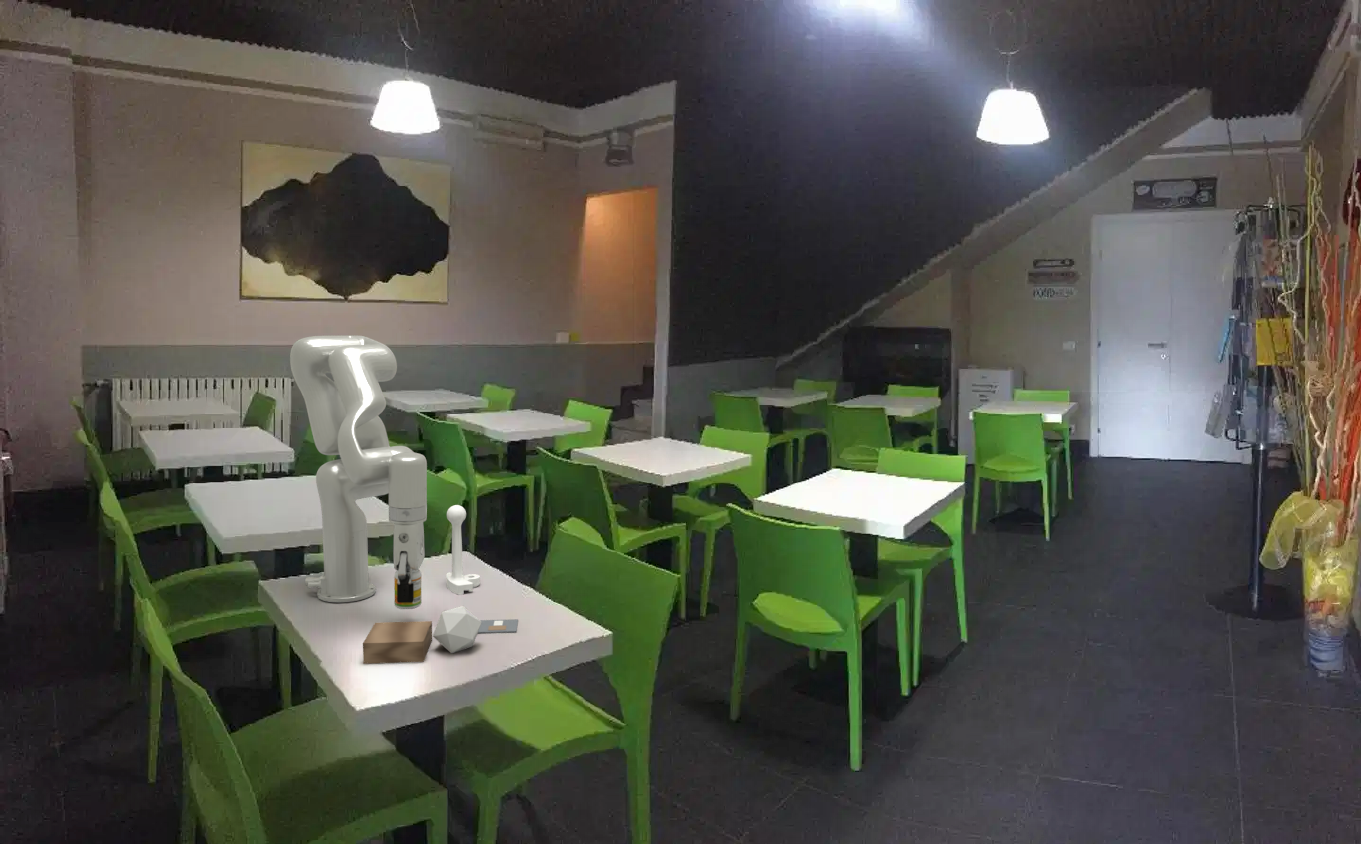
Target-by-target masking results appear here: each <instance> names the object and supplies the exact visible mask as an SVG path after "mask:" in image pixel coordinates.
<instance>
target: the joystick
mask: <svg viewBox="0 0 1361 844" xmlns="http://www.w3.org/2000/svg"><path fill="white" fill-rule="evenodd" d="M466 517H467V512H466V509H465V508H464V507H463V506H461V505H459V504H455V505H452V506H450V507H449V508H448V509H447V511H446V519H447V520H448V521H449V522H450V523H451V572H447V573H446V576H445V577H446V587H447V589H448V590H449V591H450V592H451V593H454V594H455V595H459V596H462V595H464V594H465V593H464V591H466V592H473V591H474V589H473V588H477V587H479V585H480V584H481V576H480V574H475V573H474V574H473V573H469V574H464V567H463V563H464V562H463V545H462V544H463V543H462V542H463V541H462V524H463V522H464V521H465V520H466Z"/></svg>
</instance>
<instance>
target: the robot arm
mask: <svg viewBox="0 0 1361 844" xmlns="http://www.w3.org/2000/svg"><path fill="white" fill-rule="evenodd" d="M289 355H290V357H289V362H290V363H289V364H290V369H291V374H292V376H293V378H294V381H295V384H296V385H297V388H298V389H299V391H300V393H301V395H302V397H303V399H304V403H305V407H306V412H307V415H308V417H307V418H308V420H309V421H308V422H309V425H310V430H311V434H312V436H313V437H312V438H313V441H314V445H315V448H316V449H317V451H318V452H319V453H320V454H322V455H323V456H324V455H325V456H338V455H339V459H333V460H330V461H327V462H325V463H324V464H322V465H321V466H319V468H318V470H317V472H316V474H315V475H316V476H315V483H316V488H317V493H318V497H319V502H320V508H321V509H320V510H321V520H322V521H321V523H322V545H323V546H322V547H323V548H322V551H323V573H324V574H323V575H320V576H319V577H315V576H310V577H309V576H307V577H306V578H305V579H304V580H305V582H304V583H305V586H308V587H307V588H309V589H311V588H318V589H319V590H318V591H317V598H318V599H319V600H320V601H324V602H329V603H351V602H357V601H362V600H365V599H368V598H370V597H372V596H373V595H375V594H376V591H377V589H376V588H377V587H376V585H375V584H373V583H371V582H369V557H368V556H369V553H368V551H369V550H368V549H369V548H368V547H369V545H368V522H367V516H366V514H365V512H364V511H363V510H362V509H361V507H359V505H358V504H357V503H356V501H358V500H362V499H368V498H374V497H378V496H379V497H380V496H385V495H388V521H389V523H392V524H393V569H394V570H395V571H398V582H397V602H398V603H412V602H413V601H414V583H412V574H413V569H415V571H417V570H418V569H419V570H420V568H421V567H422V564H423V562H424V560H425V555H426V553H425V533H424V532H425V531H424V529H425V528H424V522H426V521H427V520H428V519H427V517H428V516H427V515H428V514H427V513H428V512H427V511H428V510H427V509H428V504H427V503H428V502H427V501H428V499H427V497H428V495H427V493H428V492H427V491H428V489H427V487H428V486H427V485H428V481H427V480H428V476H427V475H428V463H427V462H428V461H427V459H426V457H425V455H424V454H421V453H417V452H414V451H413V450H412V449H411V448H409V447H408V446H405V445H395V446H394V445H393V446H390V441H389V438H388V433H387V429H386V426H385V424H384V422H383V420H382V418H381V417H380V414H382V413H383V411H384V410H385V409H386V406H387V400H386V397H385V395H384V393H383V391H382V387H381V386H380V383H379V382H381V383H382V382H388V381H391V380H393V379H394V377H395V376H396V373H397V370H398V362H397V357H396V356H395V354H394V353H393V351H392V350H391V349H390V347H389V346H387V344H384V343H382V342H380V341H377V340H375V339H372V338H370V337H367V336H363V335H314V336H307V337H303V338H300V339H299V340H296V341H295V342H294V343H293V345H292V347H291V349H290V354H289ZM326 374H331V377H332V378H330V377H328V376H327V375H326ZM332 379H333V380H332ZM406 566H410V569H406ZM406 572H409V576H408V574H406Z"/></svg>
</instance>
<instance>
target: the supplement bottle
mask: <svg viewBox="0 0 1361 844" xmlns="http://www.w3.org/2000/svg"><path fill="white" fill-rule="evenodd" d="M406 569H410V566H406ZM406 574H408V576H409V572H406ZM393 578H394V580H393V581H394V583H393V584H394V585H393V586H394V606H395V608H397V609H400V610H413V609H417V608H419V607H420V606H422V605H421V604H422V572H421V570H420V568H419V569H418V570H417V571H415V569H413V574H412V583H414V601H413V602H412V603H398V602H397V582H398V571H397V570H395V572H394V577H393Z"/></svg>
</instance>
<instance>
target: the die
mask: <svg viewBox="0 0 1361 844" xmlns="http://www.w3.org/2000/svg"><path fill="white" fill-rule="evenodd" d="M480 620H481V619H479V618H478V617H477V616H476V615H474V614H473V613H472V612H471V611H470V610H469V609H467V608H466V607H465V606H464V605H461V606H457V607H453V608H451V609H447V610H444V611H441V614H440V615H439V619H438V621H437V624H436V626H435V629H434V632H433V633H432V638H433V639H435V640H436V641H437V642H438V643H439V644H441V646H443V647H444V648H445V649H446V650H447V651H448V652H450V653H451V654H454V653H458V652H459V651H463V650H465V649H468V648H471V647H473V646H474V643H475V641H476V638H477V636H478V634H477V633H478V631H479V628H480V625H481V623H482V622H481V621H480Z"/></svg>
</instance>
